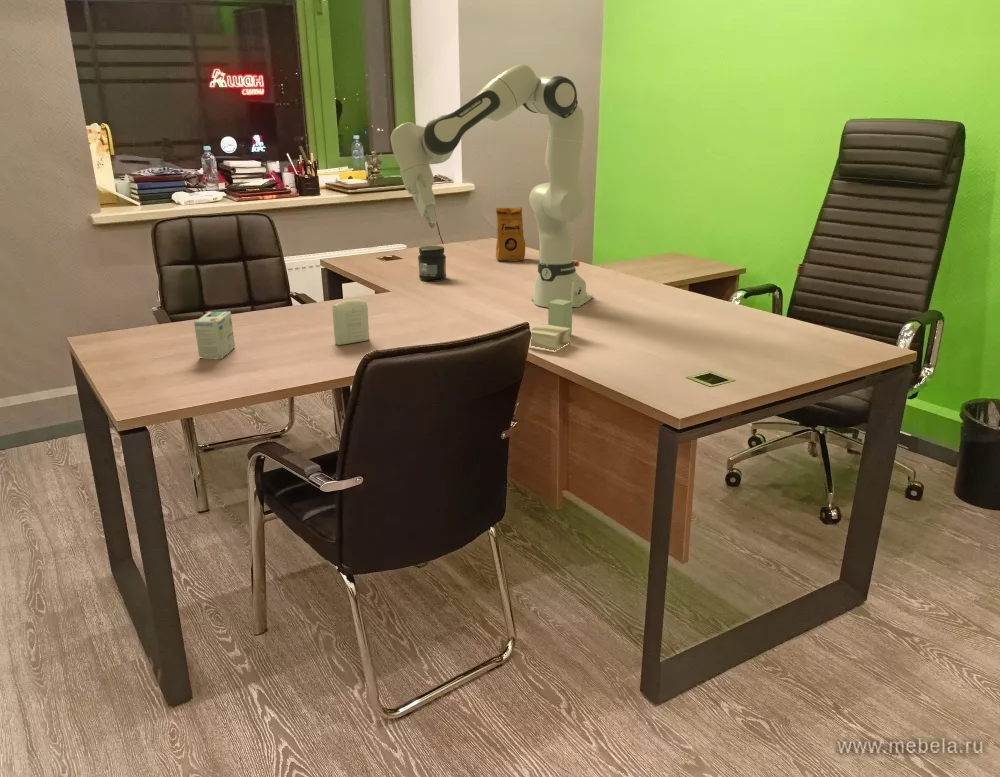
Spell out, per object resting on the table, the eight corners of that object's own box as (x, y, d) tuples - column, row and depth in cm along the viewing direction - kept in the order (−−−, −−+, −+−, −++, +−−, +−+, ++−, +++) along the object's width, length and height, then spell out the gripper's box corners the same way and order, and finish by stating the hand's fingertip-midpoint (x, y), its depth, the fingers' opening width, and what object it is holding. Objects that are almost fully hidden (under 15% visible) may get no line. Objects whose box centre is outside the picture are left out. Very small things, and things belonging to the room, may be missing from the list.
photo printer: (365, 337, 239) (362, 295, 235) (371, 340, 236) (369, 298, 232) (332, 343, 234) (329, 301, 230) (338, 346, 231) (335, 304, 226)
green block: (557, 331, 242) (557, 299, 239) (571, 334, 240) (572, 301, 236) (548, 335, 239) (548, 302, 235) (562, 338, 236) (563, 304, 232)
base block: (542, 340, 235) (542, 323, 233) (569, 345, 231) (570, 328, 229) (526, 348, 228) (526, 331, 226) (554, 353, 223) (554, 336, 222)
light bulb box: (212, 347, 231) (207, 310, 227) (236, 347, 231) (231, 310, 227) (198, 359, 221) (192, 321, 217) (223, 359, 221) (217, 321, 217)
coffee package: (525, 262, 339) (525, 208, 332) (495, 262, 340) (494, 208, 332) (525, 257, 349) (525, 205, 341) (496, 257, 349) (495, 205, 341)
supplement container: (446, 275, 317) (445, 244, 312) (446, 281, 307) (445, 250, 302) (419, 276, 316) (418, 245, 312) (418, 282, 306) (416, 250, 302)
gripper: (430, 167, 227) (446, 215, 228) (427, 184, 248) (441, 228, 248) (408, 174, 227) (424, 221, 227) (407, 190, 247) (422, 234, 248)
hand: (433, 225), depth 238 cm, fingers open, 8 cm apart
